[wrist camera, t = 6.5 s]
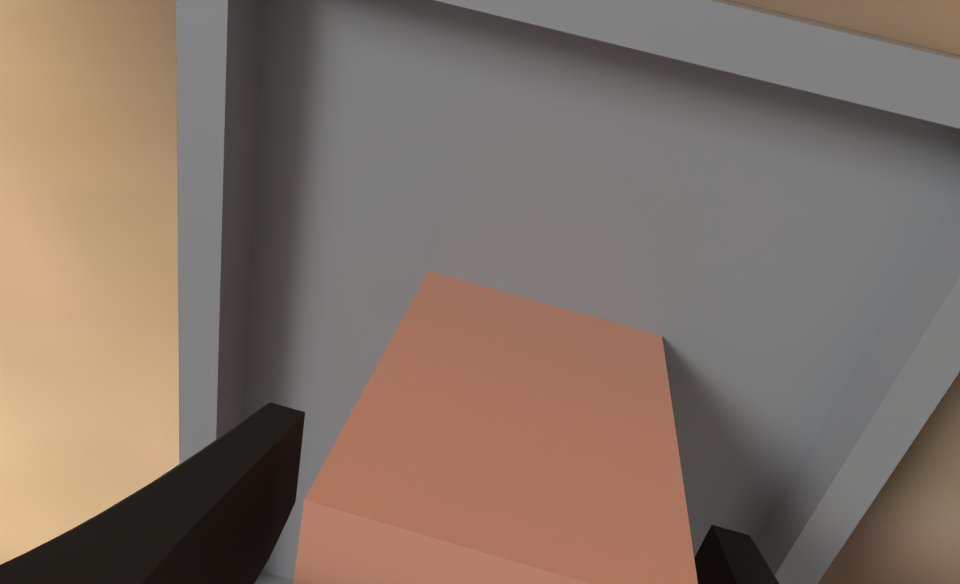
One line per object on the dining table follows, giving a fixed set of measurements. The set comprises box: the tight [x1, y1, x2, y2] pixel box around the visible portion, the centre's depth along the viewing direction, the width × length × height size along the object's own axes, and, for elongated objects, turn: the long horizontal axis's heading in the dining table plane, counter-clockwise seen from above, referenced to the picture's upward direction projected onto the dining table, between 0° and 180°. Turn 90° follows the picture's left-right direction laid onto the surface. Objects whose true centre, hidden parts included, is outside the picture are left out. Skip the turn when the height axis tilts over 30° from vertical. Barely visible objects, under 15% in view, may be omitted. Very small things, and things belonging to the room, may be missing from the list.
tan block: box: [293, 271, 698, 584], centre depth 11 cm, size 4×4×6 cm
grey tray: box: [176, 0, 960, 584], centre depth 14 cm, size 16×13×2 cm
